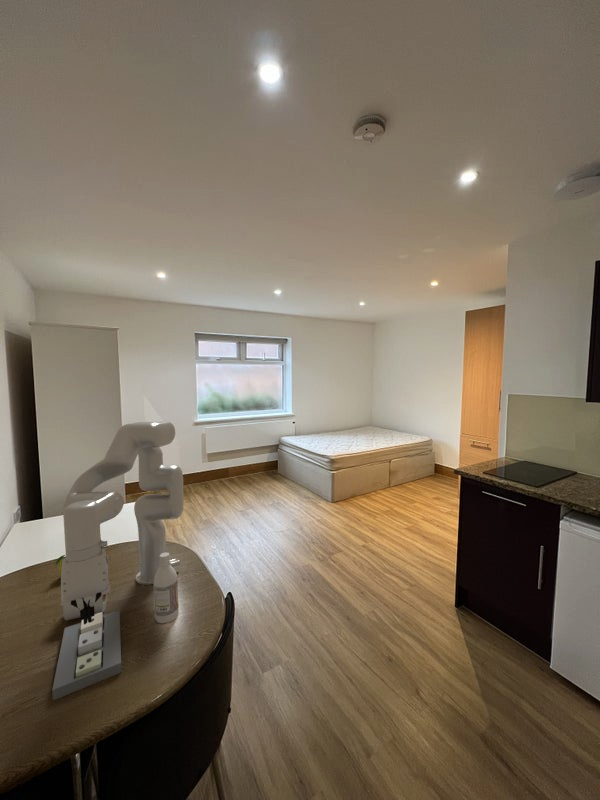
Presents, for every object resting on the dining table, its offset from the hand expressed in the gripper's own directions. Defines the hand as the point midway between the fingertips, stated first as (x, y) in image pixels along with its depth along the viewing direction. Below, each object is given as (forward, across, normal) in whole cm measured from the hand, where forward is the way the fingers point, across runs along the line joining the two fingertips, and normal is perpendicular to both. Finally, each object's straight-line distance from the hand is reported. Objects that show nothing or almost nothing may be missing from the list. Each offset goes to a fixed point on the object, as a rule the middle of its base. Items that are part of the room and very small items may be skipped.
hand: (87, 620), depth 83 cm
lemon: (+13, +10, -55) cm, 57 cm away
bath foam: (+13, -20, -9) cm, 26 cm away
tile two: (+11, 0, -6) cm, 13 cm away
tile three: (+12, 0, +2) cm, 13 cm away
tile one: (+11, 0, -13) cm, 17 cm away
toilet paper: (+13, +2, -26) cm, 29 cm away
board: (+13, 0, -6) cm, 14 cm away
